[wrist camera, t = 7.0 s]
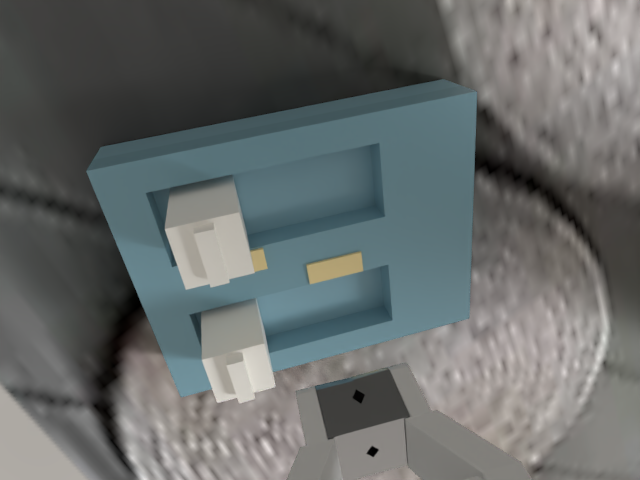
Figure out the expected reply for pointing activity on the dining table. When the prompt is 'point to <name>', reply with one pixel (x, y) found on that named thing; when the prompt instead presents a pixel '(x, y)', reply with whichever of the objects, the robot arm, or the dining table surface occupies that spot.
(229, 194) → the tab near
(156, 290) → the switch bank
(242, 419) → the dining table surface
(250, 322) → the tab far
